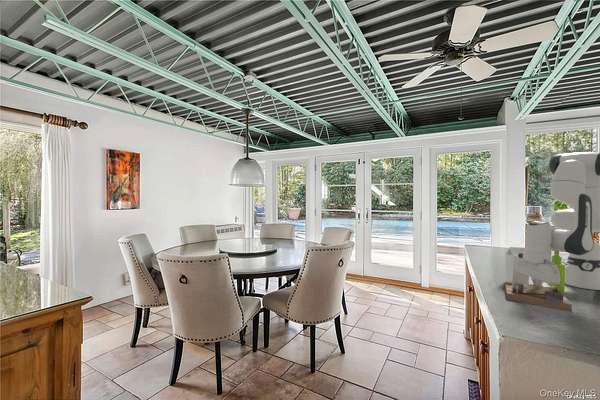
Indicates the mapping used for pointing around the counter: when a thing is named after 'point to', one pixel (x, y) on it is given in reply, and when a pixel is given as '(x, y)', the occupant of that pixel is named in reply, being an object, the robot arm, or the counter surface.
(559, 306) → the wooden tray
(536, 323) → the counter surface
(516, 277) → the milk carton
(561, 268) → the soap dispenser
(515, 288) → the folding leg
